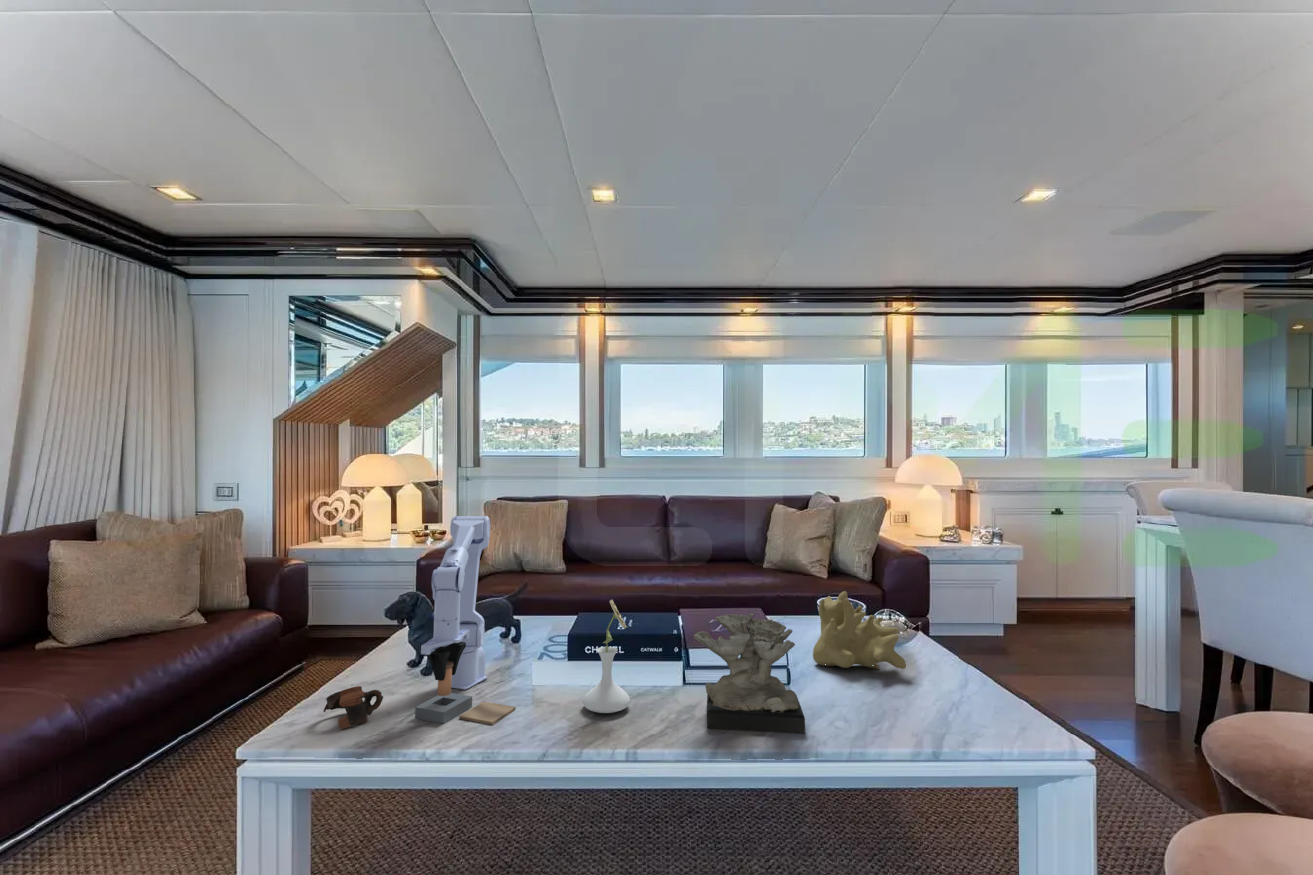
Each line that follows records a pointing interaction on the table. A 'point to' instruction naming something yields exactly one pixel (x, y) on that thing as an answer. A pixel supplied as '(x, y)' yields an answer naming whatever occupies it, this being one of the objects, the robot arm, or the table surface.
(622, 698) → the flower in vase
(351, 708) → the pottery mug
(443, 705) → the socket
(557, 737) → the table surface
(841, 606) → the decorative coral
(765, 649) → the coral
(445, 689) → the plug
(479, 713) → the coaster
